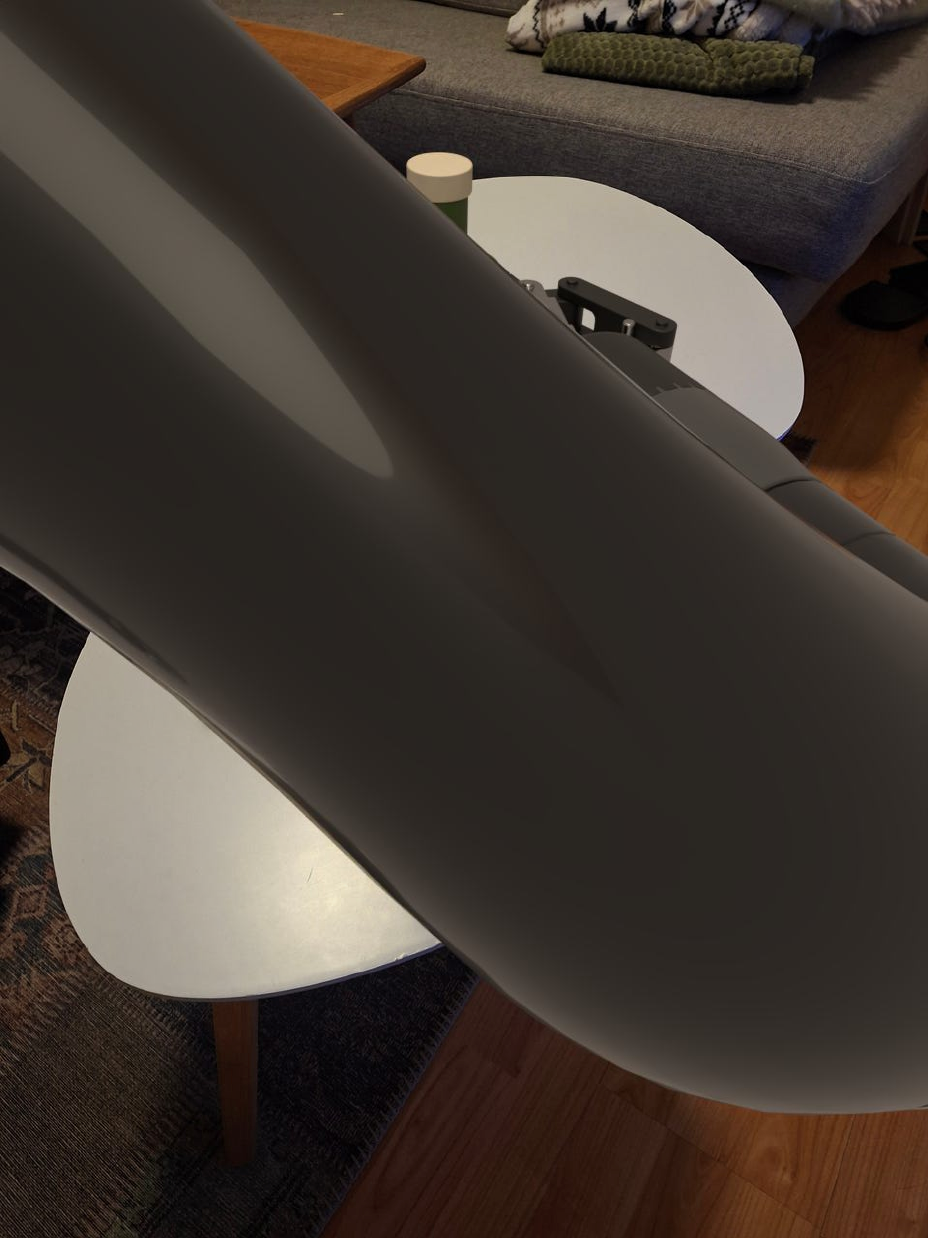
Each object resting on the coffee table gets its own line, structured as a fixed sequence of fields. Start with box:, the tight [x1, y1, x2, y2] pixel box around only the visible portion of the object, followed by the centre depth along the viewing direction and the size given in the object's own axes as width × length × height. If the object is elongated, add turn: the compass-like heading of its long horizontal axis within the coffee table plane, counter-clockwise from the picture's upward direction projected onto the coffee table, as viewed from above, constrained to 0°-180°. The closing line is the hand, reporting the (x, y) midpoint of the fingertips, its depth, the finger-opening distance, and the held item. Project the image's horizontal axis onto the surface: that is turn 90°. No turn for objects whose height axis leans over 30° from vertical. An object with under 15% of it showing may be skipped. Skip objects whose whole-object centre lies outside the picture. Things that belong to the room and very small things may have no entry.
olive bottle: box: [406, 151, 499, 263], centre depth 38 cm, size 5×5×13 cm
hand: (411, 288), depth 39 cm, fingers closed on olive bottle, 5 cm apart
